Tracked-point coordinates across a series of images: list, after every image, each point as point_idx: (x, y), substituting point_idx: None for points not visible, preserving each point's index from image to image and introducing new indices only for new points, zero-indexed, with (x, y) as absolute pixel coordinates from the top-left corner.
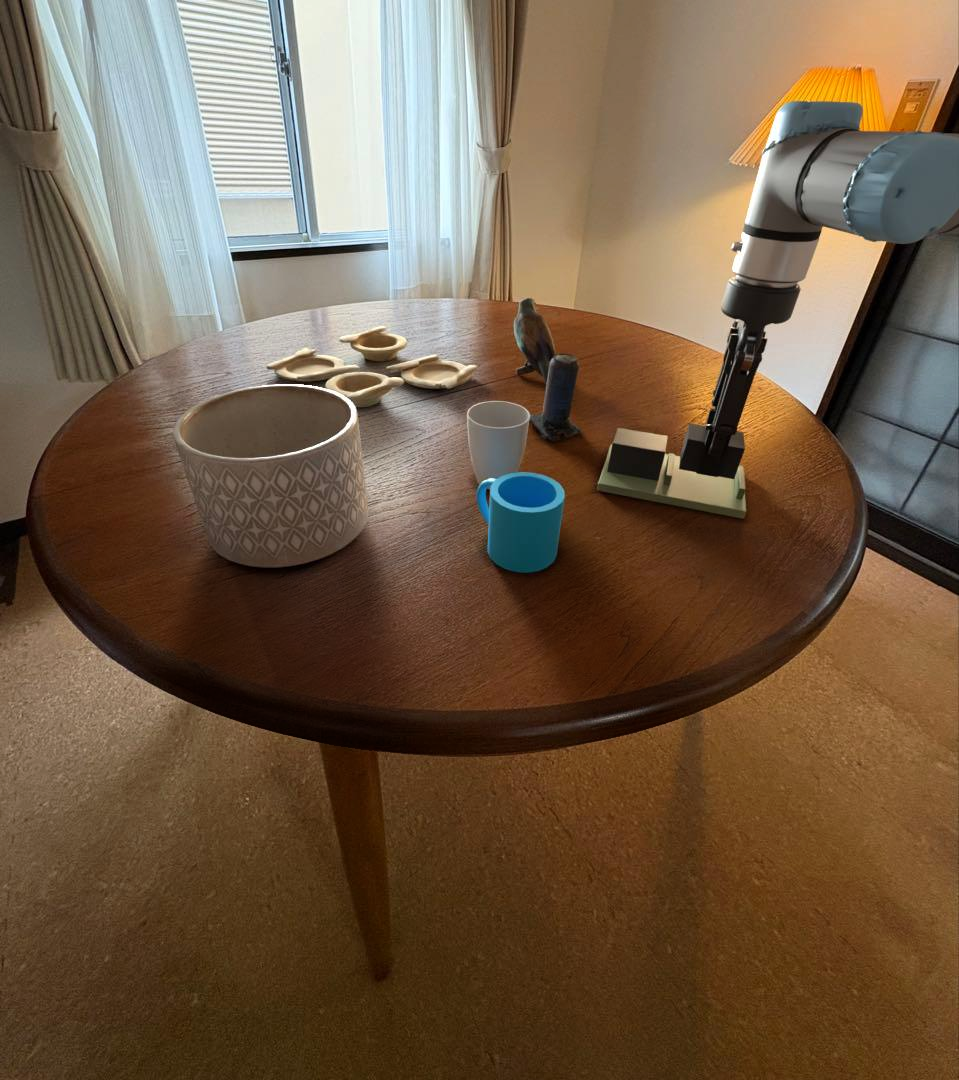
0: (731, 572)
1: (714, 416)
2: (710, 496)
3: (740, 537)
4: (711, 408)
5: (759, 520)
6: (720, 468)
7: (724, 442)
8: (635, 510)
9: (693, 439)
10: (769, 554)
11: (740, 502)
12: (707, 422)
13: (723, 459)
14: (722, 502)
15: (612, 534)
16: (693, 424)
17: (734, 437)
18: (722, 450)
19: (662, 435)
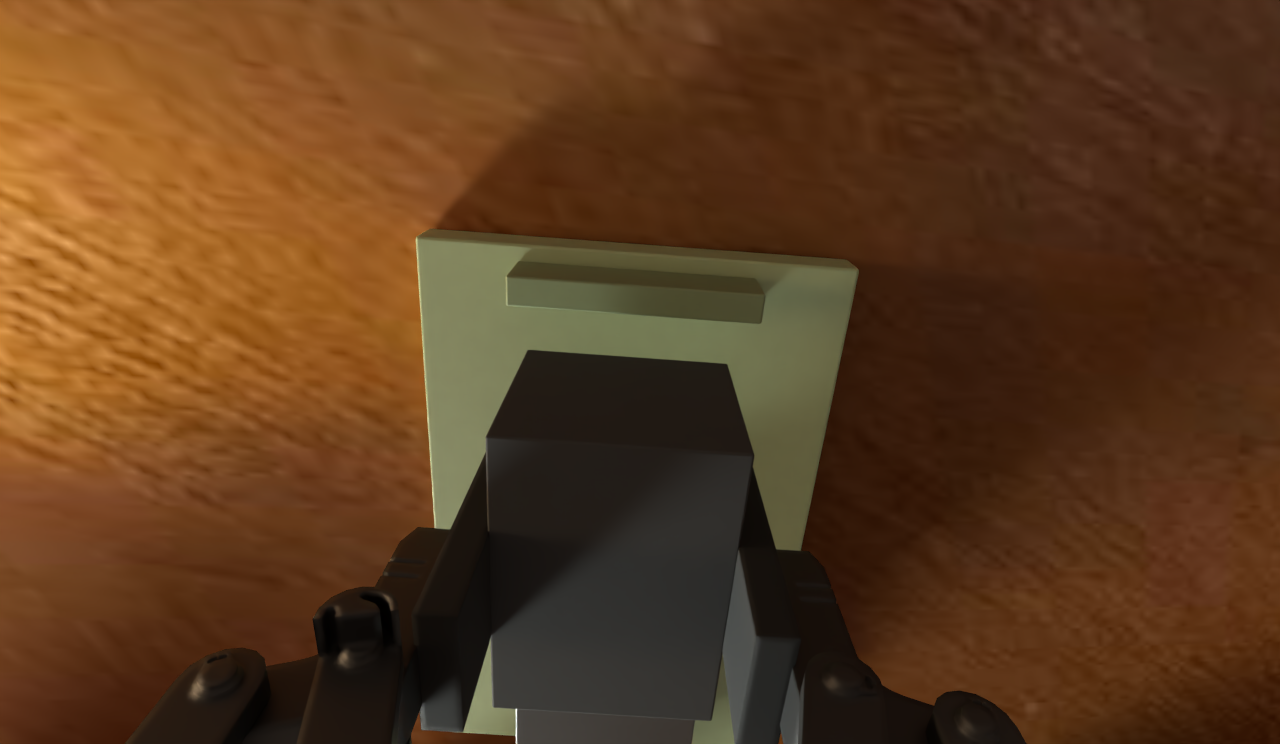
0: (1226, 343)
1: (473, 668)
2: (759, 409)
3: (990, 286)
4: (425, 724)
5: (843, 186)
6: (752, 472)
7: (845, 630)
8: (854, 622)
9: (709, 699)
10: (1109, 179)
11: (783, 287)
12: (484, 651)
13: (760, 503)
14: (800, 365)
15: (1008, 675)
16: (502, 691)
17: (601, 499)
18: (828, 584)
19: (520, 713)
